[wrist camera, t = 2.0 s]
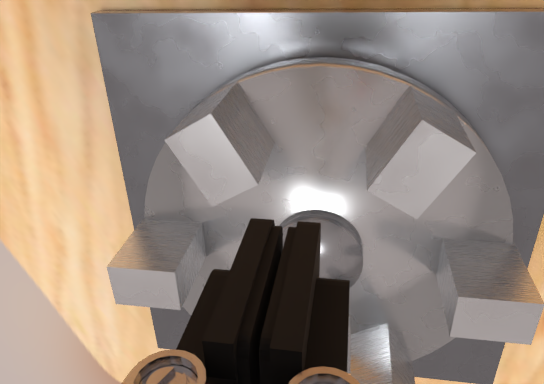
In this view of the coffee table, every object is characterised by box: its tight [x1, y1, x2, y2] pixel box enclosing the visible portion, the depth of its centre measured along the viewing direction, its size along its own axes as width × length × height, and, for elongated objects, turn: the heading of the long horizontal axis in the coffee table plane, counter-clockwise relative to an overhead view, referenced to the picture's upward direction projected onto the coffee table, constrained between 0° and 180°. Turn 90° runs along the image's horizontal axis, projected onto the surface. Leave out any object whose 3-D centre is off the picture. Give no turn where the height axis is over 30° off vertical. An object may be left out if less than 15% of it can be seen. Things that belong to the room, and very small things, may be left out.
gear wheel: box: [107, 57, 544, 384], centre depth 25 cm, size 20×20×6 cm
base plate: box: [91, 8, 544, 384], centre depth 28 cm, size 24×24×1 cm
